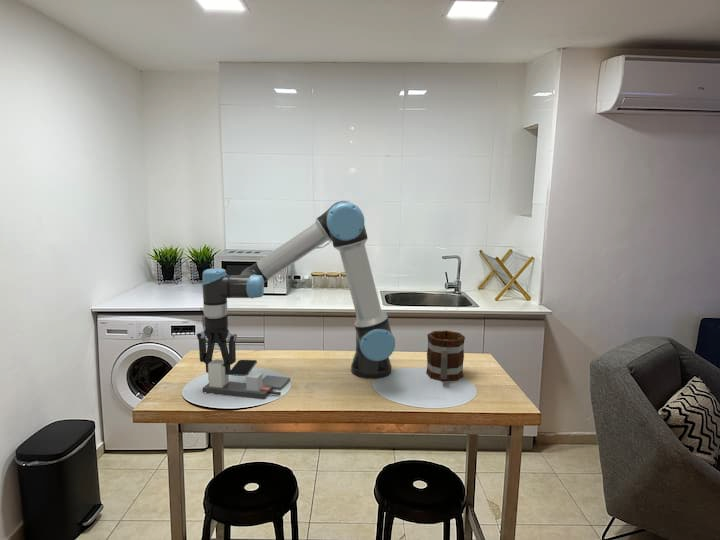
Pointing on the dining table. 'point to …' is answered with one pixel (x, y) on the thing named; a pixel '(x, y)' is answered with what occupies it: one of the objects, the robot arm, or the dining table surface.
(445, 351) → the mug
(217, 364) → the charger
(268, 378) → the coaster
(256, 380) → the cube
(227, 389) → the power strip
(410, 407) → the dining table surface
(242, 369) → the smartphone
